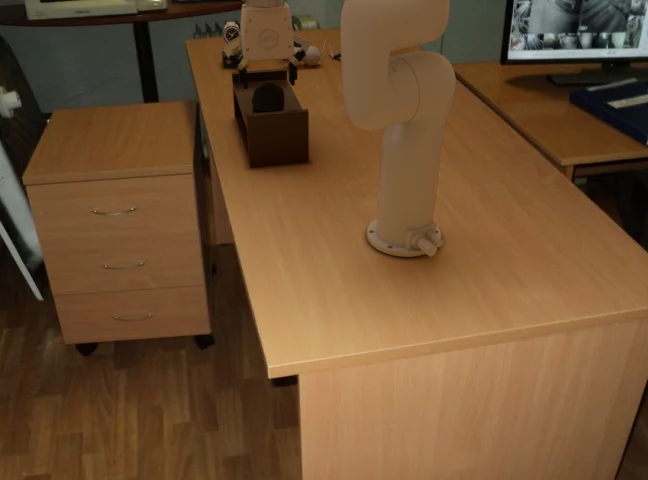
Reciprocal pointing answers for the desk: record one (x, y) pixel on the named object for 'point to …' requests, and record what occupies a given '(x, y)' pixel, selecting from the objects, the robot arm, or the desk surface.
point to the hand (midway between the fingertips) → (268, 85)
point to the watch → (229, 34)
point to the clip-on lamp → (312, 54)
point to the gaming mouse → (268, 97)
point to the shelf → (271, 123)
